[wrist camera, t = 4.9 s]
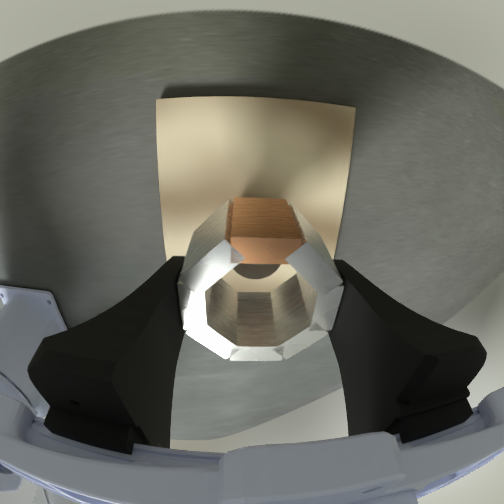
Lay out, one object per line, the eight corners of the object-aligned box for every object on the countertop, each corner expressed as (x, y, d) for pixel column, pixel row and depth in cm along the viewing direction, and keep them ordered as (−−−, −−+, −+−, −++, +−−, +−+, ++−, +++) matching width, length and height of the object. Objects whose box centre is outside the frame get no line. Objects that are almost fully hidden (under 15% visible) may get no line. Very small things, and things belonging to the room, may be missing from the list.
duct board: (320, 300, 22) (338, 354, 17) (175, 298, 21) (160, 353, 16) (350, 107, 15) (395, 114, 10) (159, 99, 14) (124, 101, 10)
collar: (308, 306, 15) (322, 358, 12) (197, 304, 14) (188, 358, 11) (326, 201, 12) (355, 240, 9) (190, 196, 11) (172, 235, 8)
